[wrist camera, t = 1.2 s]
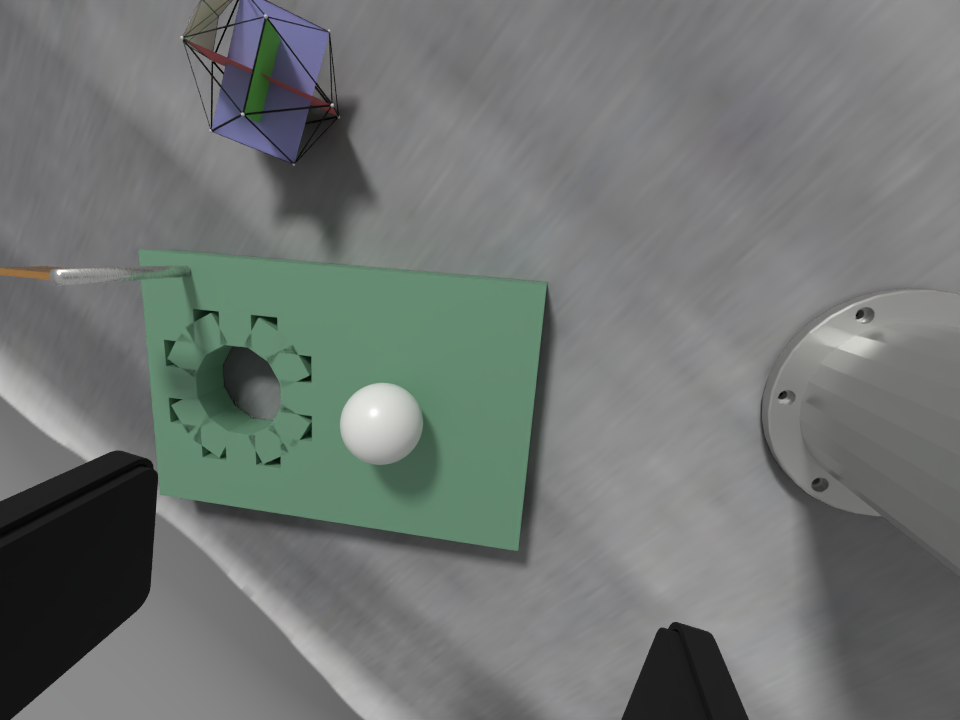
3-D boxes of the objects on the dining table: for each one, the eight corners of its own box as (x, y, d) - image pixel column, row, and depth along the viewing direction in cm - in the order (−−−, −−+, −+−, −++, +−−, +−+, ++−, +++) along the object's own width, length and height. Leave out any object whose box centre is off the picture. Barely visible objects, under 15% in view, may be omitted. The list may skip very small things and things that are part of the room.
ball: (433, 378, 27) (411, 402, 23) (429, 450, 28) (408, 485, 24) (359, 370, 27) (325, 391, 23) (358, 440, 28) (325, 473, 24)
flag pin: (219, 264, 30) (62, 269, 20) (220, 275, 30) (64, 286, 20) (169, 260, 30) (-9, 262, 21) (170, 271, 31) (-6, 279, 21)
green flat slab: (547, 282, 27) (546, 285, 25) (520, 528, 31) (517, 551, 29) (171, 249, 30) (138, 249, 28) (188, 477, 34) (160, 494, 31)
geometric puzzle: (392, 56, 24) (223, -59, 18) (352, 189, 26) (185, 125, 20) (329, 51, 28) (176, -42, 22) (298, 165, 30) (148, 107, 24)
